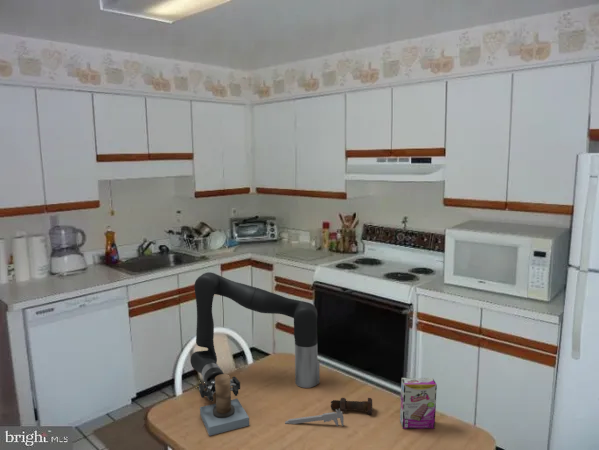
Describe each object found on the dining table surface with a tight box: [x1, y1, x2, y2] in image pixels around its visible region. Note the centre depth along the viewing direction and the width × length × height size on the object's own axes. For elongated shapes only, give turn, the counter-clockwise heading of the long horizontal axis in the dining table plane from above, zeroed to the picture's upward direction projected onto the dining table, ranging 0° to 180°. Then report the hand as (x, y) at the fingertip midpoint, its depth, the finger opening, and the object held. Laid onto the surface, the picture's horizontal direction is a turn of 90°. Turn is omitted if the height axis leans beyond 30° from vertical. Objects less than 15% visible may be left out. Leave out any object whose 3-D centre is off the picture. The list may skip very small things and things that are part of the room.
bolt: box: [330, 397, 373, 416], centre depth 165 cm, size 6×5×15 cm
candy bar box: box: [399, 377, 438, 430], centre depth 154 cm, size 11×5×16 cm, turn 89°
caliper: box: [284, 409, 345, 427], centre depth 156 cm, size 20×1×6 cm, turn 84°
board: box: [199, 398, 250, 436], centre depth 160 cm, size 14×14×3 cm
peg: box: [213, 373, 235, 418], centre depth 159 cm, size 8×8×16 cm
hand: (224, 396), depth 157 cm, fingers open, 8 cm apart
